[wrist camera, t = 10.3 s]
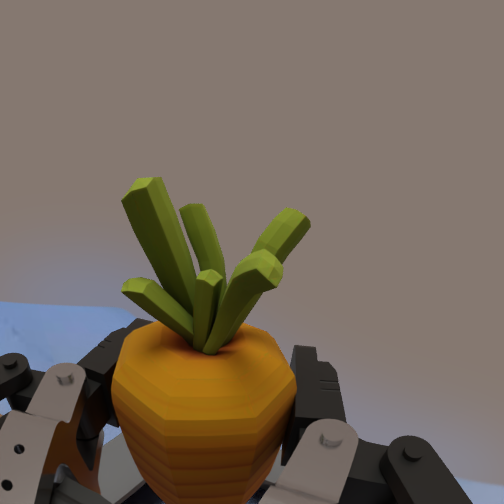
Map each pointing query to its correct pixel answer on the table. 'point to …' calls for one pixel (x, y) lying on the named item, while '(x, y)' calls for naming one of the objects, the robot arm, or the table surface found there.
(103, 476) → the box
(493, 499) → the table surface
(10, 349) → the table surface
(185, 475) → the carrot
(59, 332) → the table surface
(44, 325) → the table surface
